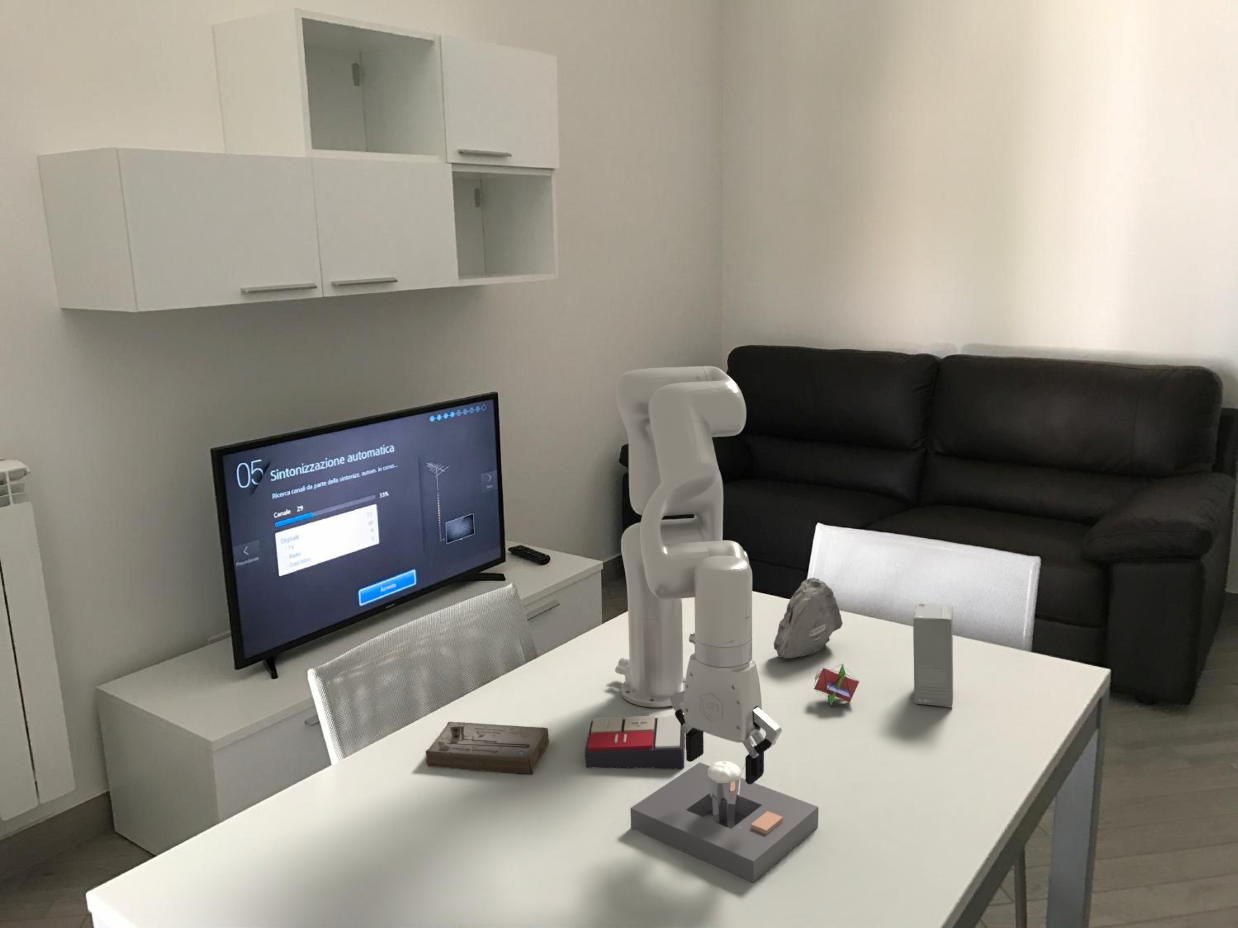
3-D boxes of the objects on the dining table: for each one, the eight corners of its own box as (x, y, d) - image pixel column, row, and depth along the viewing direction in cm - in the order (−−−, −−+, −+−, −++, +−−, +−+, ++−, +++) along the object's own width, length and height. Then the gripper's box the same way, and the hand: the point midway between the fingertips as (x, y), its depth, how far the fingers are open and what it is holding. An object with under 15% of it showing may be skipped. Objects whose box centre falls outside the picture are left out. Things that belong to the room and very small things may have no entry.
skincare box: (952, 709, 174) (956, 621, 171) (908, 704, 176) (912, 617, 173) (953, 688, 182) (957, 604, 179) (911, 684, 184) (915, 600, 181)
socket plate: (630, 827, 141) (630, 803, 141) (699, 780, 153) (699, 758, 152) (753, 882, 129) (753, 856, 128) (818, 826, 140) (818, 802, 140)
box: (532, 777, 156) (531, 759, 155) (425, 769, 160) (424, 750, 159) (551, 743, 166) (550, 726, 166) (450, 736, 170) (448, 718, 169)
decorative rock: (825, 638, 206) (826, 566, 203) (850, 648, 201) (851, 575, 198) (764, 657, 198) (764, 583, 195) (788, 668, 192) (788, 592, 189)
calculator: (590, 715, 168) (683, 711, 167) (593, 739, 169) (685, 736, 168) (583, 747, 157) (682, 744, 156) (585, 773, 158) (684, 770, 157)
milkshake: (746, 836, 138) (745, 768, 136) (706, 833, 139) (705, 766, 137) (748, 818, 142) (748, 752, 140) (710, 815, 143) (709, 749, 141)
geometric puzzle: (864, 682, 180) (837, 648, 179) (869, 699, 174) (842, 664, 173) (831, 704, 182) (804, 671, 181) (835, 722, 175) (807, 687, 174)
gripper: (654, 643, 138) (656, 760, 142) (763, 675, 127) (763, 801, 131) (687, 627, 144) (689, 739, 147) (795, 656, 133) (793, 777, 136)
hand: (723, 768), depth 139 cm, fingers open, 9 cm apart
